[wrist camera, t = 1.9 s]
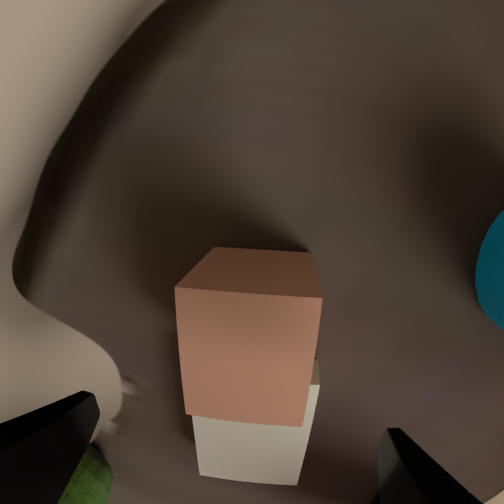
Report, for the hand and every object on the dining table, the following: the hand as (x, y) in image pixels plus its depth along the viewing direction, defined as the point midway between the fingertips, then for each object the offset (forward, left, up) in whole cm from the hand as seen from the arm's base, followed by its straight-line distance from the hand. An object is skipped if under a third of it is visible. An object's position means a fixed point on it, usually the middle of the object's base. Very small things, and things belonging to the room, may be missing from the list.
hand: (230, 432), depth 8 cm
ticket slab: (-8, 0, -9) cm, 13 cm away
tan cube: (0, 0, -9) cm, 9 cm away
